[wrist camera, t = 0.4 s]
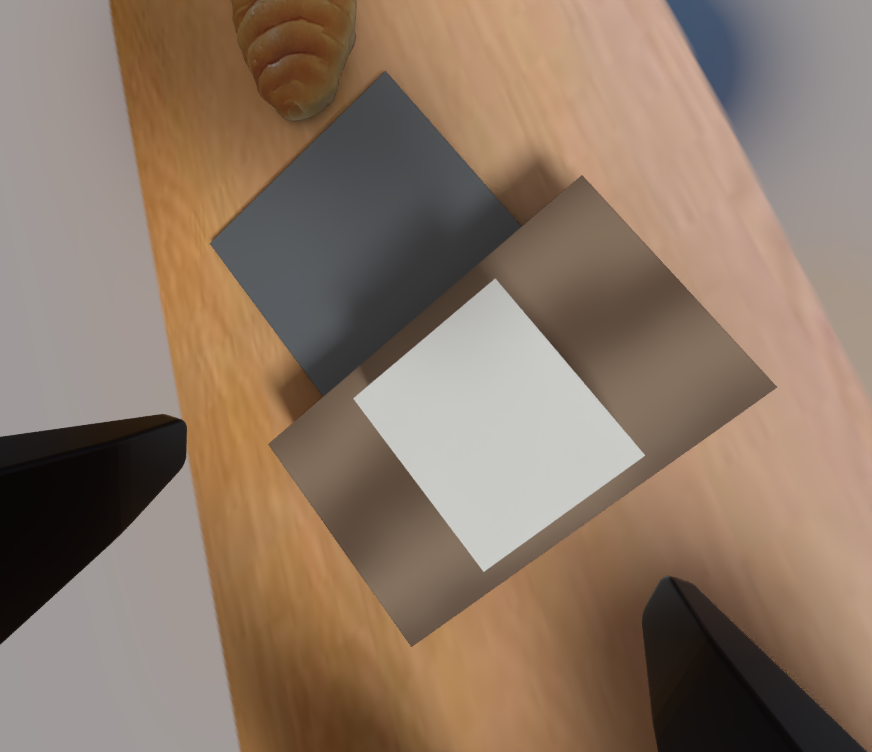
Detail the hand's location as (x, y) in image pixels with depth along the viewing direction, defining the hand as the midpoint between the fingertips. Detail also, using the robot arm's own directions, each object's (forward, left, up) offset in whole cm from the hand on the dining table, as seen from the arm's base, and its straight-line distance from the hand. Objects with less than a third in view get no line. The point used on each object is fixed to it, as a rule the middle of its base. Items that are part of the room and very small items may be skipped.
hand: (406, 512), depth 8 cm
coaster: (0, -1, -11) cm, 11 cm away
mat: (+12, -1, -14) cm, 18 cm away
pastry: (+23, -6, -14) cm, 27 cm away
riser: (0, -1, -14) cm, 14 cm away
